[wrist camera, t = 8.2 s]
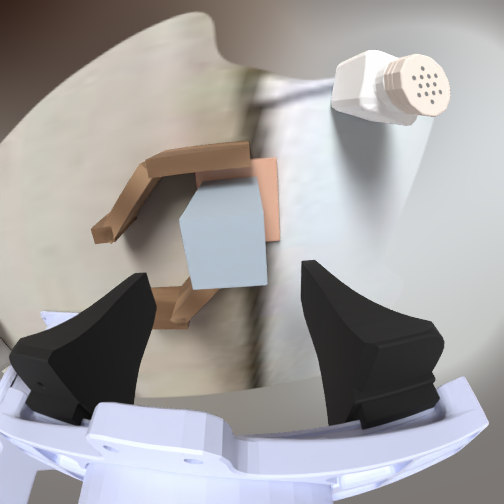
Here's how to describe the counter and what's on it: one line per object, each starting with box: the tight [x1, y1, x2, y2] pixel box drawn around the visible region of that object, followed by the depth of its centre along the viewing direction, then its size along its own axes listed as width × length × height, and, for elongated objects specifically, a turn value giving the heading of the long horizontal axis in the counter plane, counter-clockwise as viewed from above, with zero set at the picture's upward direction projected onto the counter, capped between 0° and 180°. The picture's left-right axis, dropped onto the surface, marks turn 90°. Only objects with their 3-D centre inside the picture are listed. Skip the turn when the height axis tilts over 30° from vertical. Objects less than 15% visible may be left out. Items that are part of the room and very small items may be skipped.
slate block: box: [179, 176, 268, 290], centre depth 17 cm, size 4×4×8 cm
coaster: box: [195, 157, 280, 241], centre depth 21 cm, size 7×6×1 cm
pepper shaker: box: [331, 50, 450, 126], centre depth 13 cm, size 4×4×10 cm
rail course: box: [91, 141, 251, 329], centre depth 20 cm, size 13×12×4 cm
